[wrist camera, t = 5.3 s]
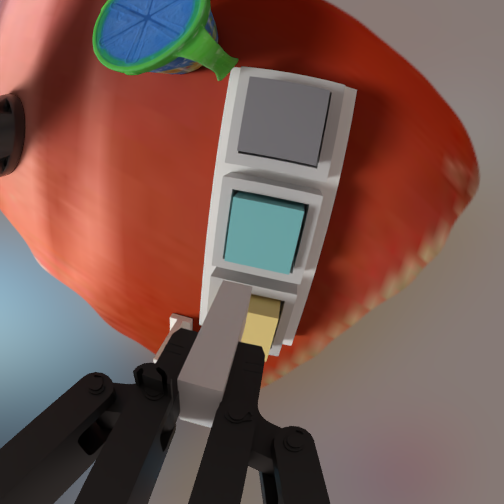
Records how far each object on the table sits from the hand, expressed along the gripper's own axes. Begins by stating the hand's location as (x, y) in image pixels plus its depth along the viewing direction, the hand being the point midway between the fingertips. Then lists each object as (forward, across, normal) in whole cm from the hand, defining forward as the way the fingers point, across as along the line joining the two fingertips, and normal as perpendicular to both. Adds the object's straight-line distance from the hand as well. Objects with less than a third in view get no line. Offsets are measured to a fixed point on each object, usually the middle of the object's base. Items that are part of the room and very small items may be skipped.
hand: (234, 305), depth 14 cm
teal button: (+15, 0, 0) cm, 15 cm away
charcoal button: (+13, 0, +10) cm, 16 cm away
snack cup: (+17, -12, +18) cm, 27 cm away
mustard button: (+13, 0, -10) cm, 17 cm away
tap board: (+17, 0, 0) cm, 17 cm away
